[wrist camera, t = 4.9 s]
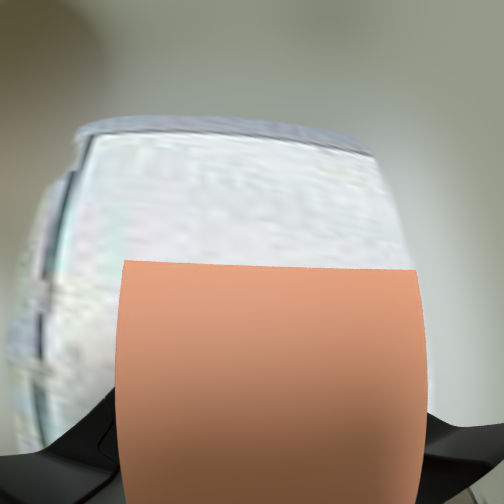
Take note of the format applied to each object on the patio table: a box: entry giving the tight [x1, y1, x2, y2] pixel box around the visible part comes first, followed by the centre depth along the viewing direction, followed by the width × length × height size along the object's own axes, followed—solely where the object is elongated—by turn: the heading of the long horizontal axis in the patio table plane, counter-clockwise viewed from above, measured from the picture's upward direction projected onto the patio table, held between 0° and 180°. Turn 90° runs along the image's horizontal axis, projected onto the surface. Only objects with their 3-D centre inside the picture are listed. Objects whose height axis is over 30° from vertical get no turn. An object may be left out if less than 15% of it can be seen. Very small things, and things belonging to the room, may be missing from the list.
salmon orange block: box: [115, 260, 428, 504], centre depth 8 cm, size 4×4×12 cm
